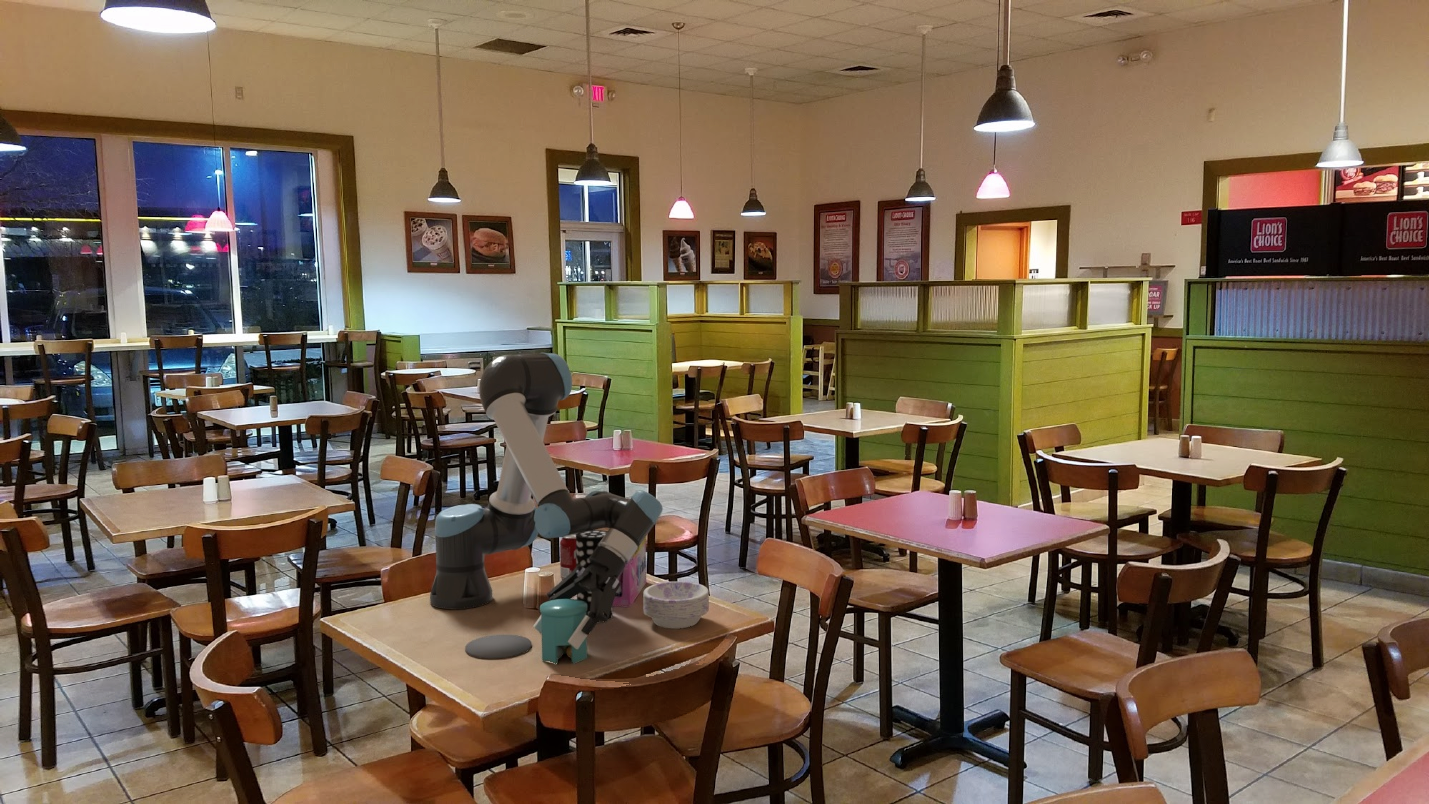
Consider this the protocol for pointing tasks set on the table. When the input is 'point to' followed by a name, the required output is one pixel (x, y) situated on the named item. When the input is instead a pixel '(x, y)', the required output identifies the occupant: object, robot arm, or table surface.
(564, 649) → the olive marble
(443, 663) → the table surface
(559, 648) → the grey marble
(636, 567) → the gum box
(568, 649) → the amber marble
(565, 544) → the soda can
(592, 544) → the spotted tube
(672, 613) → the paper bowls
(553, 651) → the teal piece
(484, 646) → the coaster
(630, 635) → the table surface
